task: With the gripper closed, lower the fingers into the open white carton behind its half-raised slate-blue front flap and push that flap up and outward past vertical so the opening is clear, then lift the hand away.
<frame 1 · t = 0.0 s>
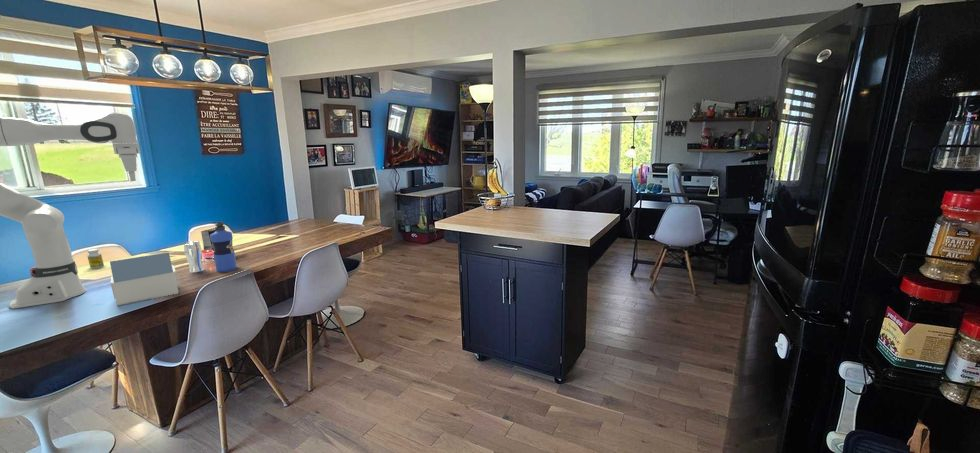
hand: (133, 180, 187), 48 cm above the table, tool pointing down, fingers open, 8 cm apart
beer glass: (196, 271, 208), on the table
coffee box: (216, 257, 234), on the table
supplement bottle: (97, 267, 218), on the table
front flap: (142, 266, 170), point 14 cm above the table, hinge at 60.0°
carton: (148, 295, 176), on the table
water bottle: (226, 269, 210), on the table
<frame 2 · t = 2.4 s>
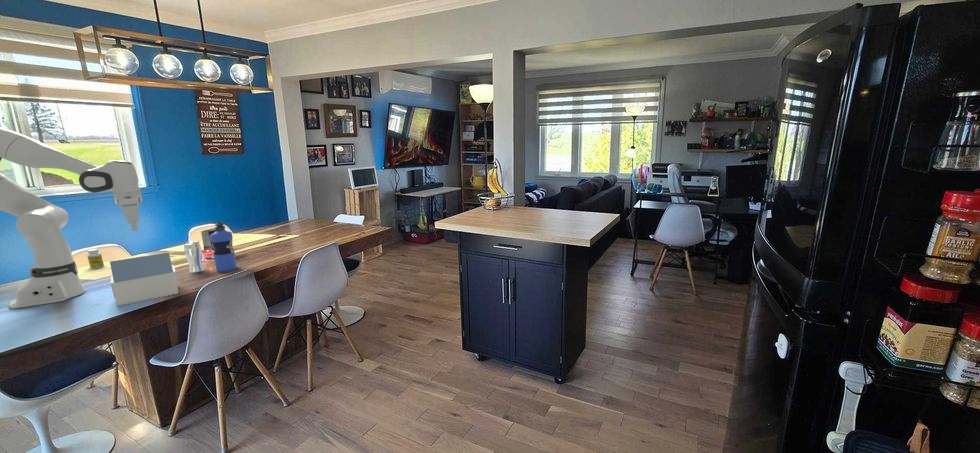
hand: (135, 230, 175), 28 cm above the table, tool pointing down, fingers closed
nothing on the table moved.
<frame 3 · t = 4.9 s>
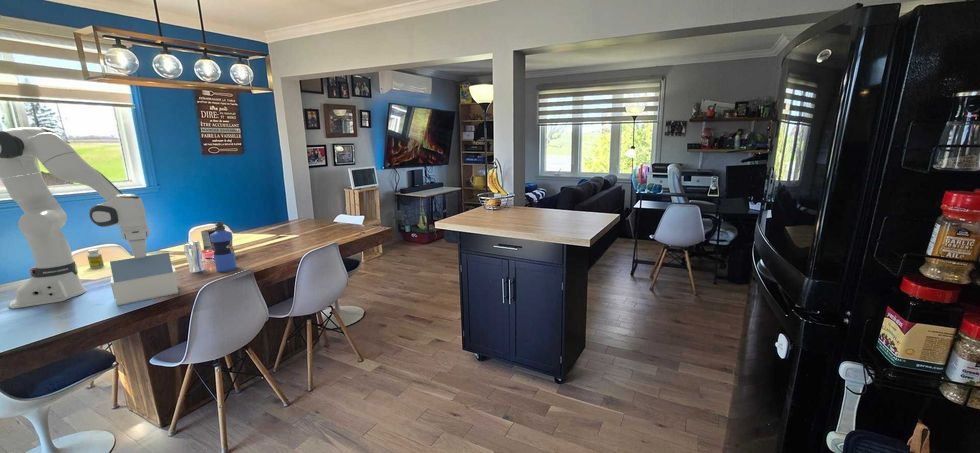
hand: (142, 263, 173), 14 cm above the table, tool pointing down, fingers closed
front flap: (142, 266, 170), point 14 cm above the table, hinge at 60.2°, touching gripper
everything else where it was.
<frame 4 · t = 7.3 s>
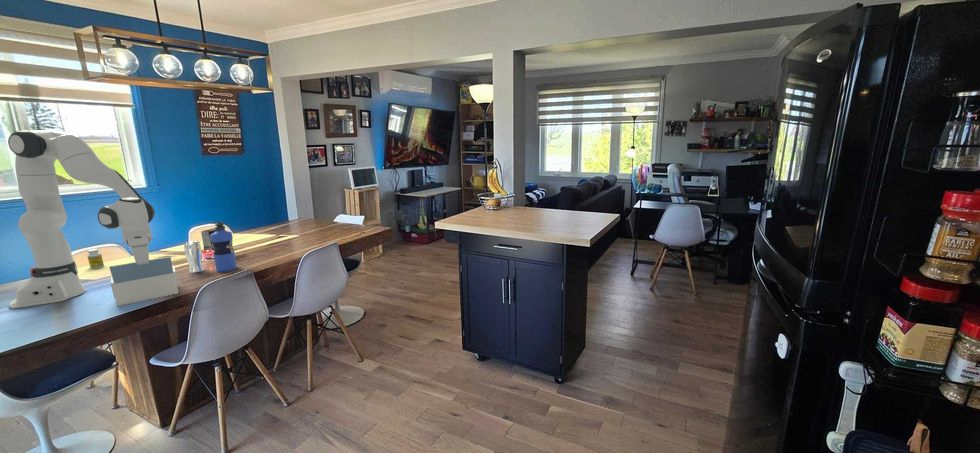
hand: (143, 269, 167), 14 cm above the table, tool pointing down, fingers closed, pressing on front flap
front flap: (142, 269, 166), point 14 cm above the table, hinge at 119.0°, touching carton, gripper
everything else where it was.
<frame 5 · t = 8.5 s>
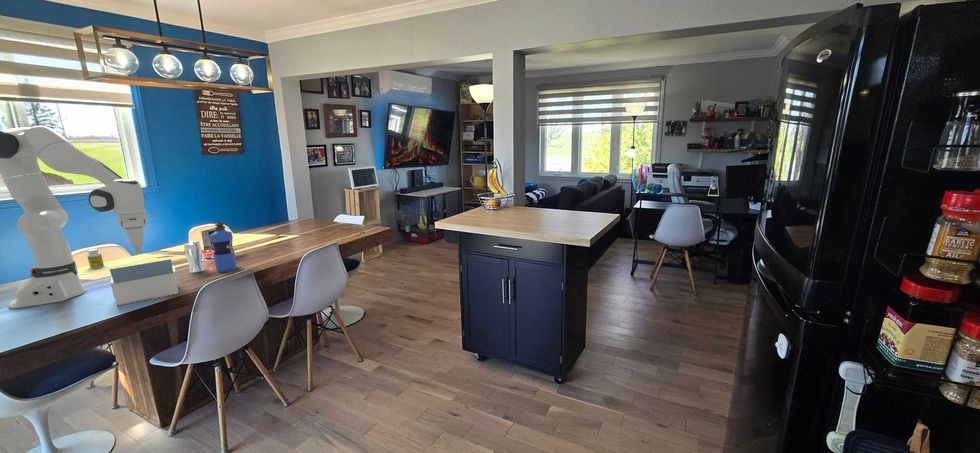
hand: (139, 253, 164), 21 cm above the table, tool pointing down, fingers closed
front flap: (143, 271, 166), point 13 cm above the table, hinge at 128.4°
everything else where it was.
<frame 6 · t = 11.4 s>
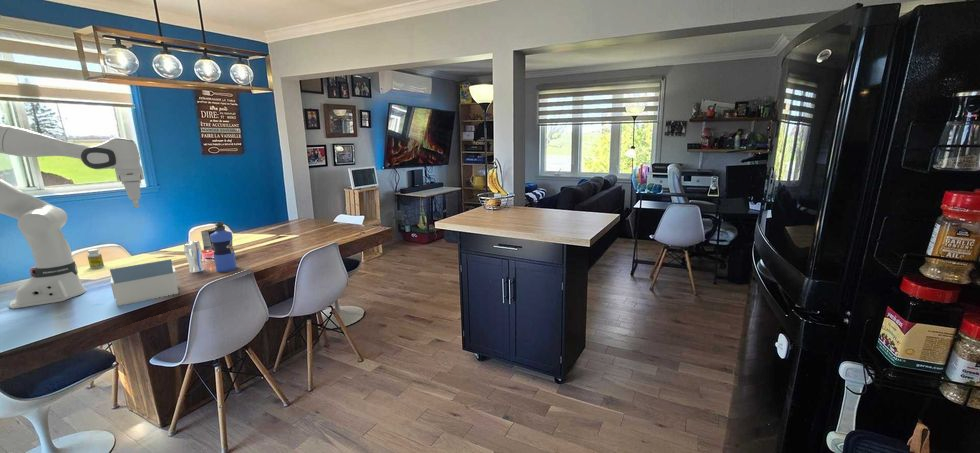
hand: (136, 207, 178), 37 cm above the table, tool pointing down, fingers closed
nothing on the table moved.
at the end: front flap at +128° (first picture: +60°) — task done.
